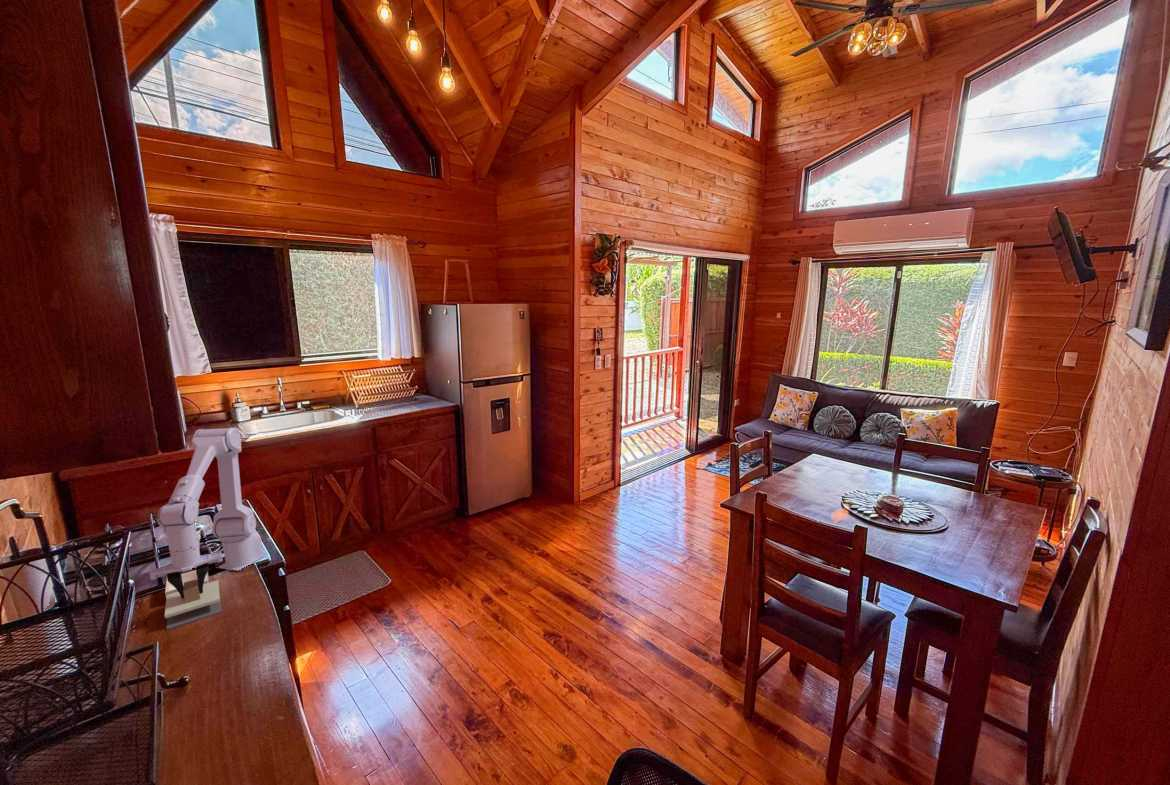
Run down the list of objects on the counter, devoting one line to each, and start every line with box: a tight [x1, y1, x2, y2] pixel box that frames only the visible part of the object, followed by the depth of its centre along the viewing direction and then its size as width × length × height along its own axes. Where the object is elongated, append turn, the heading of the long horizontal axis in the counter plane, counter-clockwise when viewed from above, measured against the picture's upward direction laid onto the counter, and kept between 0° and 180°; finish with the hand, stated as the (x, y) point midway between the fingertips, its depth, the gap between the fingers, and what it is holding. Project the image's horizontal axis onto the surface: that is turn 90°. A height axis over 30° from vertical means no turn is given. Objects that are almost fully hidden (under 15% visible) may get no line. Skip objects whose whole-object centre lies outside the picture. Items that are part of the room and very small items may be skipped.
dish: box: [164, 569, 210, 598], centre depth 136 cm, size 9×9×4 cm
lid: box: [164, 579, 221, 619], centre depth 127 cm, size 11×11×4 cm
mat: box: [166, 588, 222, 631], centre depth 128 cm, size 13×11×1 cm
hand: (192, 594), depth 127 cm, fingers closed on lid, 3 cm apart
